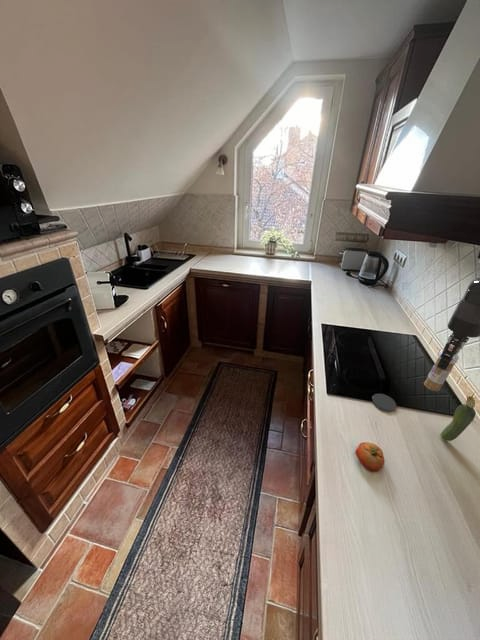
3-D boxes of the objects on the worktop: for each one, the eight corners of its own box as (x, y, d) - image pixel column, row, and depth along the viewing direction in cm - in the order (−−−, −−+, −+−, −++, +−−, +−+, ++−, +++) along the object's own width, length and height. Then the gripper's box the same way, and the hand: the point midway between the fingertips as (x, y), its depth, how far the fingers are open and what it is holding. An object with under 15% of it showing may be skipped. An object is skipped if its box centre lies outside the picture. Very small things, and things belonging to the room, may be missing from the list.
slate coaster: (388, 394, 98) (388, 393, 98) (400, 411, 91) (400, 410, 91) (368, 395, 98) (368, 393, 97) (378, 412, 91) (379, 410, 91)
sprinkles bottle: (420, 381, 84) (437, 348, 78) (435, 382, 84) (453, 349, 77) (428, 391, 81) (446, 358, 74) (443, 392, 80) (463, 359, 73)
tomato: (359, 470, 71) (363, 443, 73) (349, 461, 78) (352, 436, 79) (388, 477, 71) (391, 450, 72) (375, 467, 78) (378, 443, 79)
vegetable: (453, 439, 82) (484, 395, 72) (454, 450, 79) (488, 406, 69) (436, 433, 84) (465, 389, 74) (437, 443, 81) (467, 399, 71)
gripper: (481, 330, 63) (451, 381, 71) (494, 314, 70) (465, 361, 79) (446, 318, 68) (421, 367, 76) (461, 304, 75) (438, 350, 84)
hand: (444, 364), depth 78 cm, fingers closed on sprinkles bottle, 4 cm apart
